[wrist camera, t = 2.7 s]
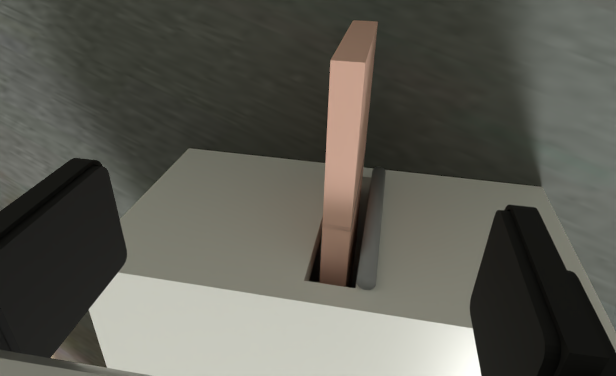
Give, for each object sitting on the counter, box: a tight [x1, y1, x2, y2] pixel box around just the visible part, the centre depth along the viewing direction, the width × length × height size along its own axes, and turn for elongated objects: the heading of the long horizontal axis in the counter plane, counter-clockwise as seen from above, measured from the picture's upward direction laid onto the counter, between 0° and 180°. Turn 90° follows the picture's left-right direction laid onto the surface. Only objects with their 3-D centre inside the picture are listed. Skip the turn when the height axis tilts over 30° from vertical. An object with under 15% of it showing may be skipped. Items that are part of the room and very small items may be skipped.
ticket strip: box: [320, 20, 378, 288], centre depth 23 cm, size 18×1×8 cm, turn 179°
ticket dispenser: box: [89, 148, 616, 376], centre depth 26 cm, size 13×22×12 cm, turn 89°
